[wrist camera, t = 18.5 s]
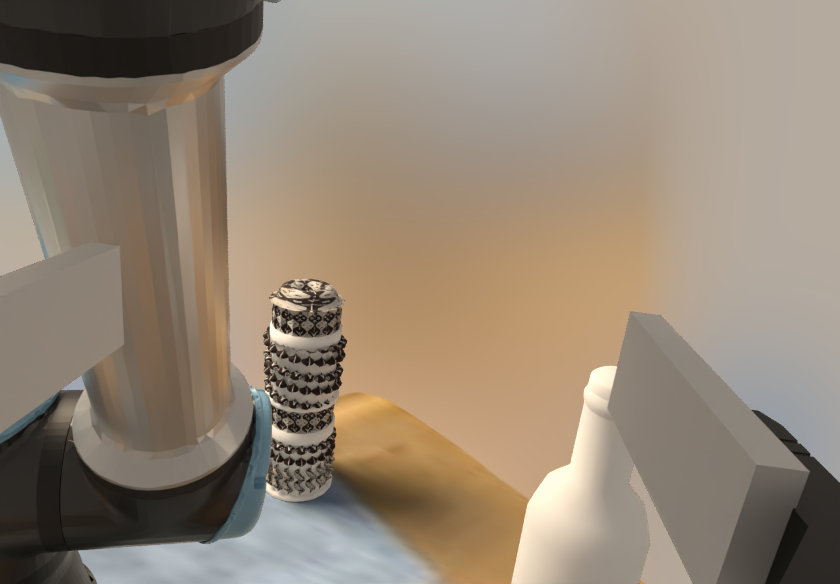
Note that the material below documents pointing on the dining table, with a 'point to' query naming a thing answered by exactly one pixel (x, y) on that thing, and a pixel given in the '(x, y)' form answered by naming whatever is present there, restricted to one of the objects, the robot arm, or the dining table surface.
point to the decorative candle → (303, 387)
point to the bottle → (587, 507)
